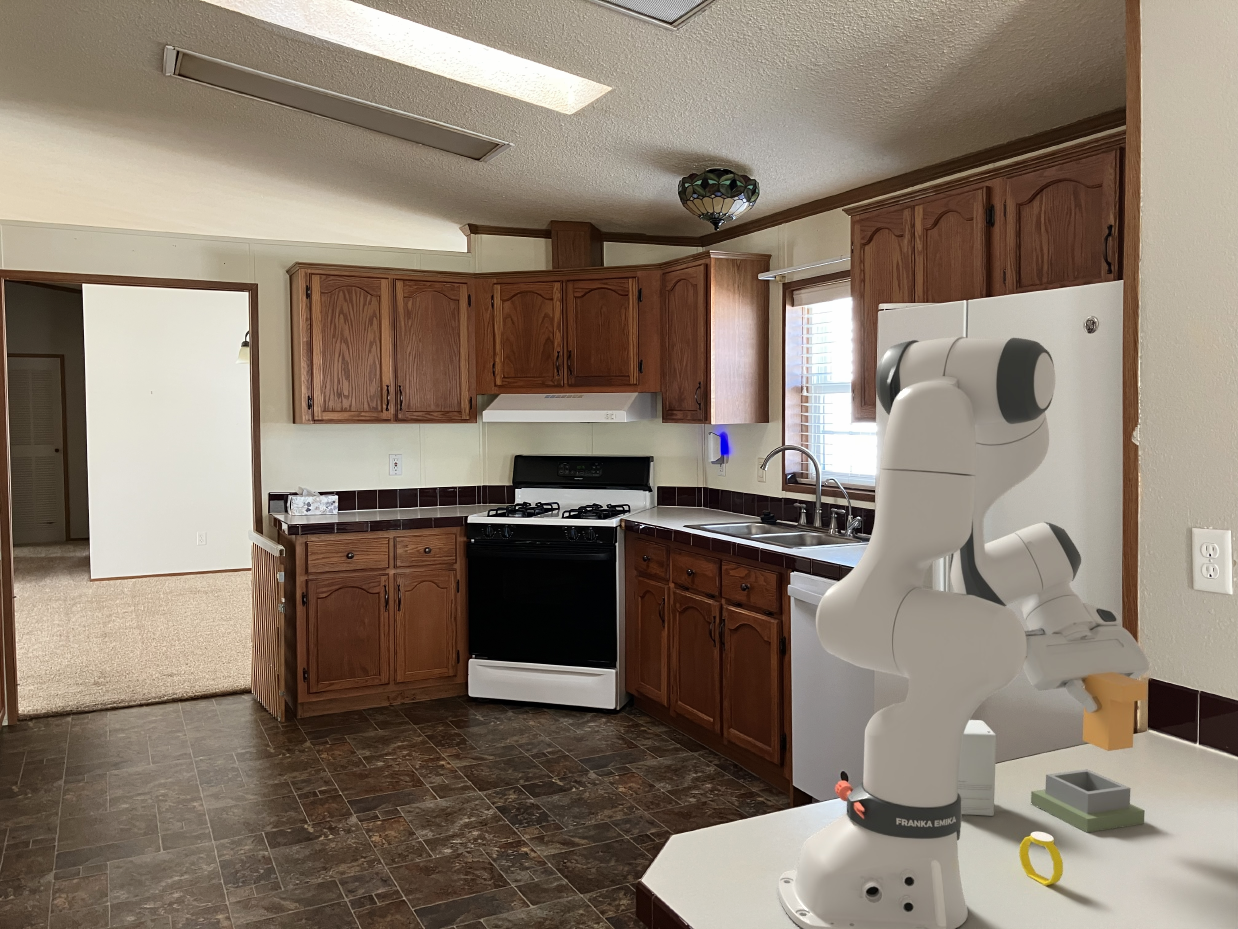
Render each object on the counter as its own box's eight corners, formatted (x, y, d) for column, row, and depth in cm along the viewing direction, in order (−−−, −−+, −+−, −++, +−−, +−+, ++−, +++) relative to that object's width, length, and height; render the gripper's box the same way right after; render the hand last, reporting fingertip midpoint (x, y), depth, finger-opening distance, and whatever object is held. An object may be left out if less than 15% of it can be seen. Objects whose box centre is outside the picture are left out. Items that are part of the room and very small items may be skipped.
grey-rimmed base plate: (1086, 832, 140) (1088, 798, 140) (1030, 803, 150) (1032, 772, 150) (1143, 823, 144) (1145, 790, 144) (1085, 796, 154) (1086, 765, 154)
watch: (1065, 890, 123) (1070, 846, 122) (1049, 894, 122) (1053, 849, 121) (1029, 866, 129) (1033, 824, 128) (1013, 870, 127) (1017, 827, 127)
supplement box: (981, 798, 152) (984, 719, 152) (994, 817, 145) (997, 734, 144) (933, 795, 153) (936, 717, 153) (944, 814, 146) (947, 732, 145)
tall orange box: (1082, 740, 142) (1085, 673, 141) (1107, 737, 143) (1109, 670, 143) (1119, 755, 135) (1122, 686, 135) (1144, 752, 137) (1147, 683, 136)
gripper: (1019, 620, 142) (1067, 705, 134) (1125, 611, 149) (1178, 691, 141) (997, 643, 147) (1042, 726, 138) (1101, 633, 154) (1151, 712, 145)
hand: (1112, 708), depth 139 cm, fingers closed on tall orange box, 5 cm apart
